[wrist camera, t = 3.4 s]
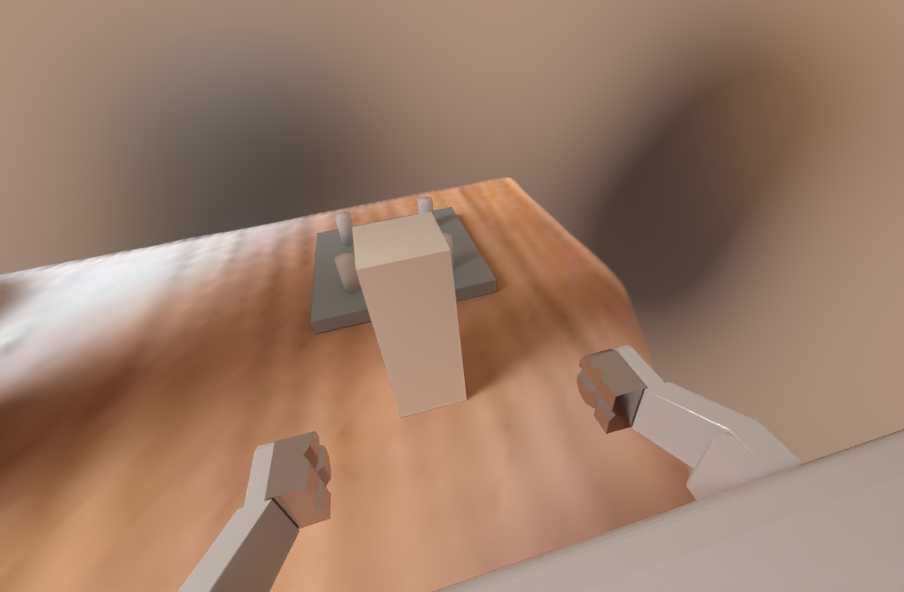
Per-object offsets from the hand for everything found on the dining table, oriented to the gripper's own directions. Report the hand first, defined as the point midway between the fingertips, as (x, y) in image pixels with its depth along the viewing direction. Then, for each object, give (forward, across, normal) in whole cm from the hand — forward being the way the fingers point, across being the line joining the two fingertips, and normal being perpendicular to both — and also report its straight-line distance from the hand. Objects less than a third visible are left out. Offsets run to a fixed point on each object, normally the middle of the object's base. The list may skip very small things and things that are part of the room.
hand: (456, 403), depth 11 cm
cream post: (+13, 0, +14) cm, 19 cm away
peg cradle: (+30, 0, +13) cm, 33 cm away
